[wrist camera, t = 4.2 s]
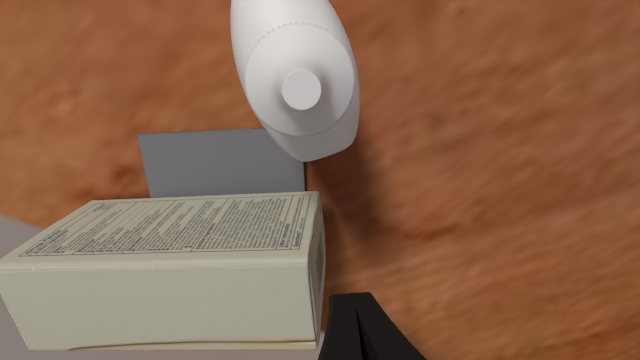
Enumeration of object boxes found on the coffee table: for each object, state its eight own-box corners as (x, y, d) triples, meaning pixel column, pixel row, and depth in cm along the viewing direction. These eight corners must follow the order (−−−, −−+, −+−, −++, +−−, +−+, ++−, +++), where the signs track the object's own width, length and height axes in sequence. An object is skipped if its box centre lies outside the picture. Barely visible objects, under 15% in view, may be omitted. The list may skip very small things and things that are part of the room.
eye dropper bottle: (244, 112, 18) (167, 217, 7) (257, -12, 17) (183, -133, 5) (329, 126, 19) (383, 244, 8) (352, 8, 17) (465, -64, 6)
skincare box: (329, 261, 20) (117, 267, 21) (321, 185, 18) (93, 196, 20) (318, 357, 14) (27, 357, 15) (306, 257, 12) (-18, 266, 14)
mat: (306, 224, 21) (306, 228, 20) (161, 233, 20) (158, 237, 20) (301, 126, 19) (301, 127, 18) (140, 133, 18) (137, 135, 18)
